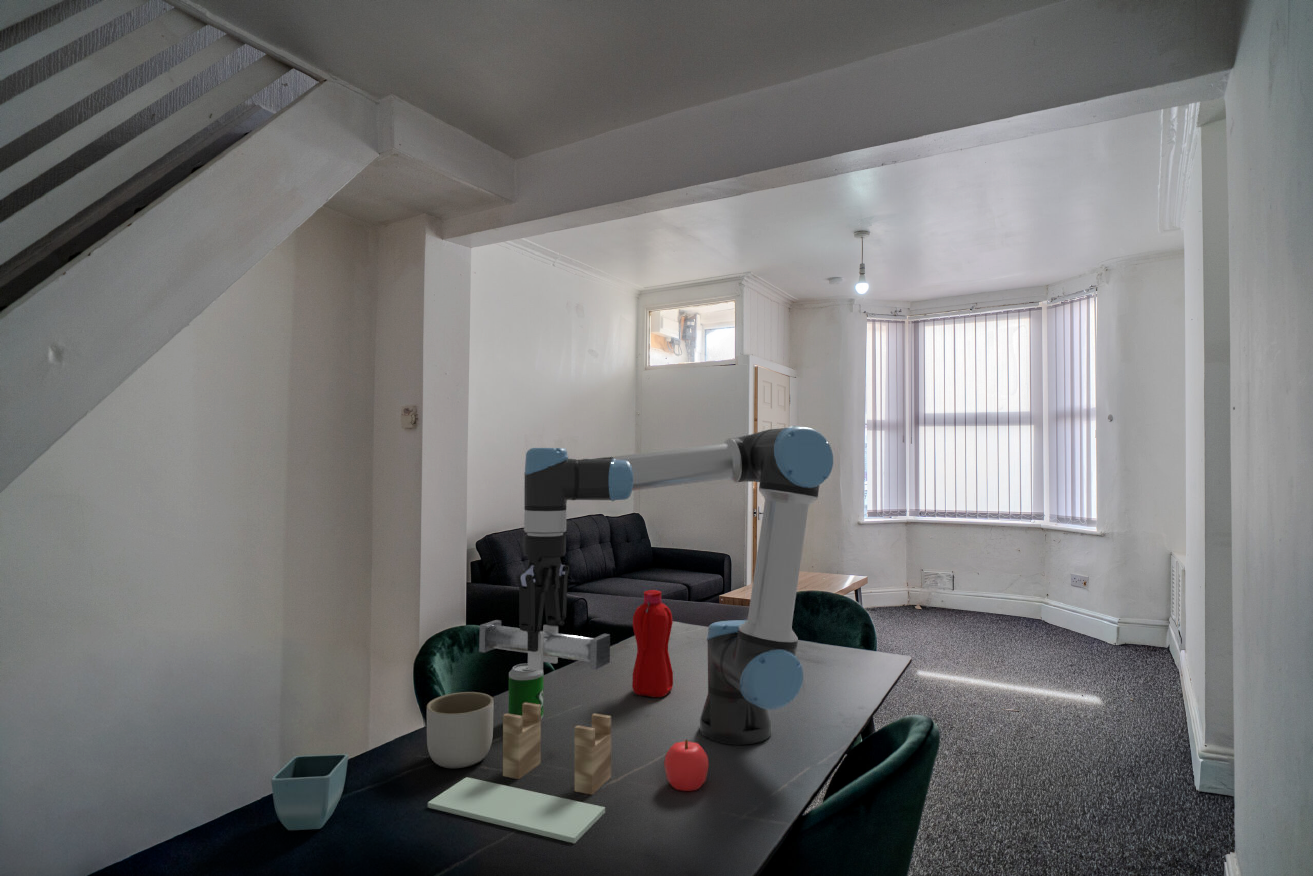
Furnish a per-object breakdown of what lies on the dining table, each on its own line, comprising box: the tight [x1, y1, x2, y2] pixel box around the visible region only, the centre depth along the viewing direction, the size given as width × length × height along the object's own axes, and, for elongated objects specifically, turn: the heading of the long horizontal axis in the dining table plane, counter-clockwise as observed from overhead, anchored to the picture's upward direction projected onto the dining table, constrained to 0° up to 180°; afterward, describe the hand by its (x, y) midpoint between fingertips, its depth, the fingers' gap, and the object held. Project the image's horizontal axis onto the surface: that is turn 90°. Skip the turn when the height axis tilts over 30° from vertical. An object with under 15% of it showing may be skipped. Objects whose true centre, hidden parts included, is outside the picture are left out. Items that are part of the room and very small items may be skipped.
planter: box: [426, 691, 495, 769], centre depth 134 cm, size 12×12×11 cm
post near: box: [574, 713, 612, 796], centre depth 124 cm, size 4×7×11 cm, turn 157°
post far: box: [502, 702, 542, 780], centre depth 130 cm, size 4×7×11 cm, turn 157°
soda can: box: [508, 662, 544, 720], centre depth 153 cm, size 8×8×12 cm
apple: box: [663, 739, 710, 792], centre depth 123 cm, size 8×8×8 cm
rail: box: [478, 619, 611, 671], centre depth 124 cm, size 24×5×5 cm, turn 66°
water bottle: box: [631, 589, 674, 698], centre depth 172 cm, size 9×11×25 cm
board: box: [427, 776, 606, 844], centre depth 115 cm, size 28×10×1 cm, turn 67°
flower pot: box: [270, 753, 349, 831], centre depth 111 cm, size 9×9×9 cm
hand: (542, 665), depth 124 cm, fingers closed on rail, 4 cm apart
